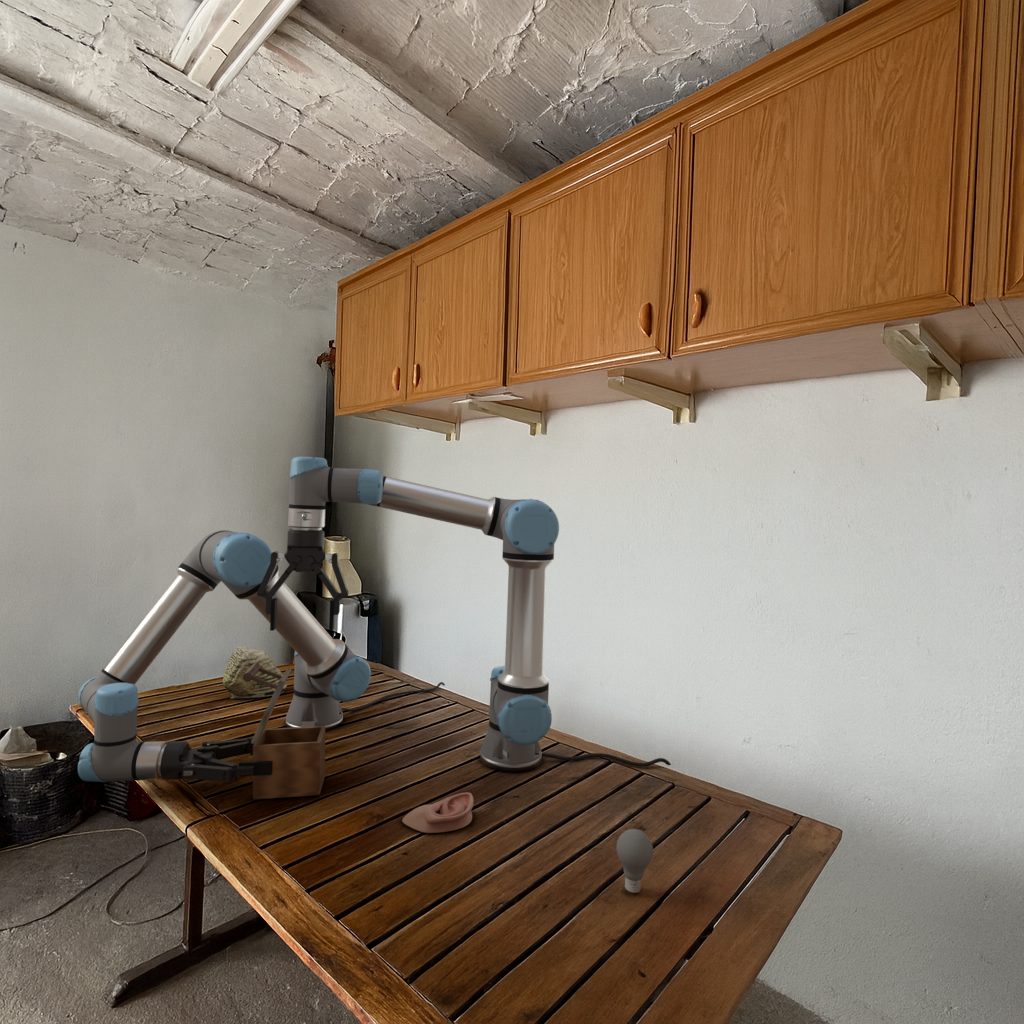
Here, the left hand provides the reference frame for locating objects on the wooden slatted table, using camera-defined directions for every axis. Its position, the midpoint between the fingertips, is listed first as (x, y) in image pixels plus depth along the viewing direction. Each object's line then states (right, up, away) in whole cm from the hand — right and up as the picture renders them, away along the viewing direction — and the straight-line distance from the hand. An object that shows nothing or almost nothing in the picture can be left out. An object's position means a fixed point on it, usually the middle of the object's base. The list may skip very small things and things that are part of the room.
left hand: (276, 757), depth 137 cm
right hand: (+5, +28, 0) cm, 28 cm away
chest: (+3, -7, +1) cm, 7 cm away
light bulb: (+71, -10, -31) cm, 78 cm away
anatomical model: (+36, -9, -10) cm, 38 cm away
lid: (0, +11, 0) cm, 11 cm away
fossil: (-30, -4, +62) cm, 69 cm away
